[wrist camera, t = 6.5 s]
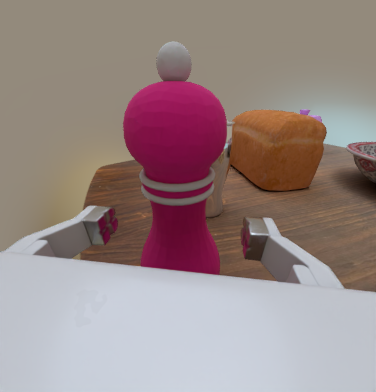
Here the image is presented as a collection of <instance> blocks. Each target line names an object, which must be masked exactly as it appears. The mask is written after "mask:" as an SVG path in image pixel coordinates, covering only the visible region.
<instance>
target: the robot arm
mask: <svg viewBox="0 0 376 392" xmlns="http://www.w3.org/2000/svg"><path fill="white" fill-rule="evenodd" d="M115 213H116V212H115V209H114V208H113V207H103V206H88V207H87V208H86V209H85V210H83V211H82V212H81V213H80V214H79V215H77V216H76V217H75V218H74V219H72V220H68V221H65V222H63V223H60V224H57V225H55V226H52V227H49V228H47V229H44V230H41V231H39V232H36V233H33V234H31V235H28V236H26V237H23V238H22V239H20V240H19V241H18V242H16V243H15V244H13V245H12V246H10V247H9V248H8V249H6V250H5V251H3V252H2V251H0V392H376V292H369V291H360V290H351V289H345V288H344V287H343V286H342V284H341V283H340V281H339V280H338V279H337V277H336V276H335V274H334V273H333V271H332V270H331V269H330V267H328V266H327V265H325V264H324V263H322V262H321V261H319V260H318V259H316V258H315V257H313V256H312V255H310V254H309V253H307V252H306V251H304V250H303V249H301V248H300V247H299V246H297V245H296V244H294V243H293V242H291V241H290V240H288V239H287V238H285V237H282V236H281V234H280V232H279V231H278V229H277V227H276V225H275V223H274V221H273V219H272V218H254V217H244V219H243V226H244V227H243V228H242V229H241V244H242V245H243V253H244V258H245V259H248V260H256V261H260V262H261V263H262V264H263V265H264V266H265V267H266V269H267V270H268V271H269V272H270V273H271V274H272V275H273V276H274V278H275V279H276V280H277V281H278V282H277V281H268V280H259V279H249V278H240V277H231V276H222V275H213V274H204V273H195V272H185V271H176V270H167V269H158V268H149V267H140V266H131V265H122V264H112V263H103V262H94V261H84V260H74V259H71V258H73V257H74V256H76V255H78V254H79V253H81V252H82V251H84V250H85V249H87V248H88V247H90V246H91V245H106V243H107V242H108V241H109V239H110V238H111V237H110V235H111V234H113V233H115V231H116V230H117V227H118V220H117V218H116V217H115V216H114V215H115Z"/></svg>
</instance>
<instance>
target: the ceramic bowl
mask: <svg viewBox="0 0 376 392" xmlns="http://www.w3.org/2000/svg"><path fill="white" fill-rule="evenodd" d="M346 150H347V151H348V152H350V153H352V154H353V156H354V161H355V164H356V166H357V167H358V169H359V170H360V171H361V173H362V174H363V175H364V176H366V177H367V178H368V179H370V180H371V181H373V182H374V183H376V142H359V143H353V144H349V145H347V147H346Z"/></svg>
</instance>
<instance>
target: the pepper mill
mask: <svg viewBox="0 0 376 392" xmlns="http://www.w3.org/2000/svg"><path fill="white" fill-rule="evenodd" d="M156 64H157V70H158V73H159V75H160V77H161V79H162V80H163V82H158V83H155V84H151V85H149V86H147V87H145V88H143V89H142V90H140V91H139V92H138V93H137V94H136V95H135V96H134V97H133V98H132V100H131V101H130V102H129V104H128V107H127V109H126V111H125V116H124V122H123V127H124V139H125V143H126V146H127V148H128V150H129V152H130V154H131V155H132V156H133V157H134V158H135V159H136V161H138V162H139V163H140V164H141V165H142V166H143V167H144V169H143V170H142V171H141V172H140V175H139V177H140V180H141V182H142V187H141V190H142V193H143V195H144V196H145V197H146V198H148V199H149V200H150V202H151V206H152V211H153V222H152V227H151V230H150V233H149V236H148V238H147V240H146V243H145V245H144V248H143V252H142V257H141V267H149V268H158V269H167V270H176V271H185V272H195V273H204V274H213V275H219V272H220V259H219V253H218V250H217V246H216V244H215V242H214V240H213V238H212V236H211V234H210V232H209V230H208V228H207V224H206V212H205V207H206V200H207V198H208V197H209V196H210V195H211V194H212V192H213V190H214V184H213V180H214V178H215V172H214V170H213V169H212V168H211V167H210V166H211V165H212V164H213V163H214V162H215V161H216V160H217V159H218V157H219V156H220V155H221V154H222V152H223V150H224V147H225V144H226V138H227V120H226V116H225V112H224V109H223V107H222V105H221V103H220V101H219V100H218V99H217V98H216V97H215V96H214V95H213V93H211V92H210V91H209V90H207V89H206V88H204V87H202V86H200V85H197V84H194V83H191V82H185V81H186V80H187V79H188V77H189V75H190V72H191V65H192V64H191V57H190V55H189V52H188V51H187V49H186V48H185V47H184V46H183V45H182V44H180V43H178V42H169V43H166V44H164V45H163V47H161V49H160V51H159V53H158V56H157V63H156Z"/></svg>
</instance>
